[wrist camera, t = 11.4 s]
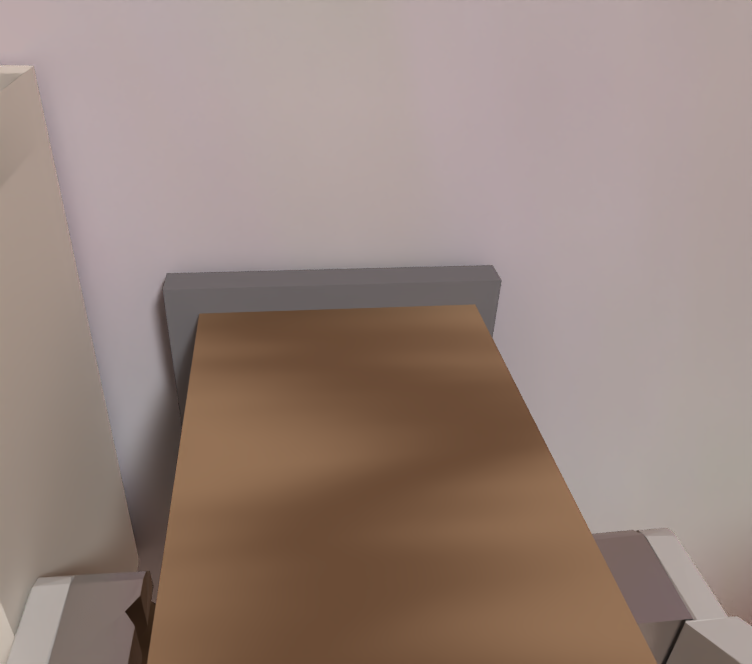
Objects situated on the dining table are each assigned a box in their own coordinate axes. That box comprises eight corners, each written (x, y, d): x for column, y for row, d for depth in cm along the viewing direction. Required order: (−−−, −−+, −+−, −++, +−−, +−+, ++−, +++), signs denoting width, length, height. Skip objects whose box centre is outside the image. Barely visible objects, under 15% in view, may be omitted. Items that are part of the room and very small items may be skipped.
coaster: (492, 265, 13) (501, 280, 13) (458, 491, 16) (464, 511, 16) (166, 273, 12) (162, 289, 12) (198, 510, 16) (196, 531, 15)
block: (475, 304, 13) (704, 756, 6) (448, 496, 15) (587, 955, 9) (199, 313, 12) (121, 833, 5) (221, 513, 15) (187, 1025, 8)
